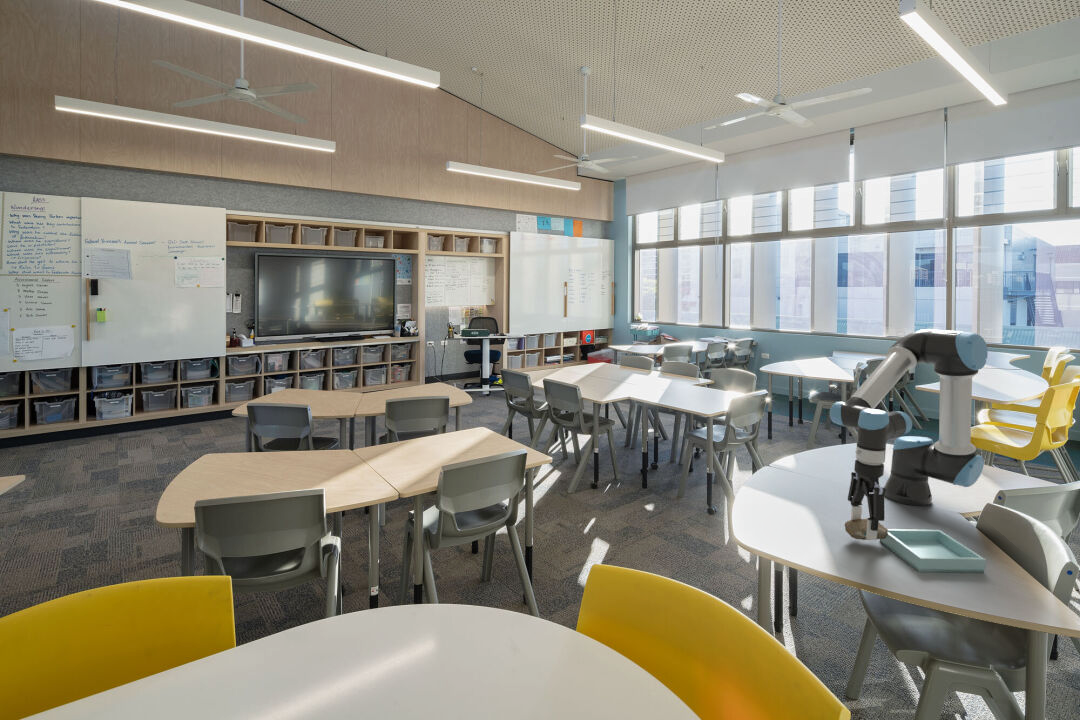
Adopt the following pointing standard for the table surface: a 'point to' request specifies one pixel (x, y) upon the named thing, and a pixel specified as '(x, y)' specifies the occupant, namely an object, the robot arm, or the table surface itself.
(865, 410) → the robot arm
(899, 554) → the tray
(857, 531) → the rock
